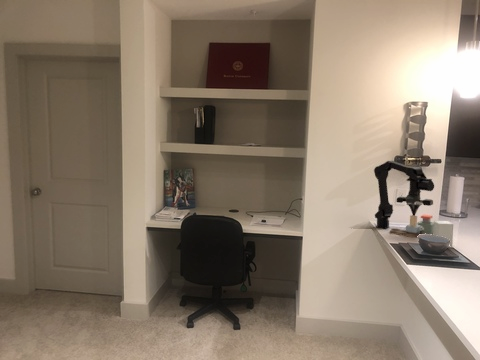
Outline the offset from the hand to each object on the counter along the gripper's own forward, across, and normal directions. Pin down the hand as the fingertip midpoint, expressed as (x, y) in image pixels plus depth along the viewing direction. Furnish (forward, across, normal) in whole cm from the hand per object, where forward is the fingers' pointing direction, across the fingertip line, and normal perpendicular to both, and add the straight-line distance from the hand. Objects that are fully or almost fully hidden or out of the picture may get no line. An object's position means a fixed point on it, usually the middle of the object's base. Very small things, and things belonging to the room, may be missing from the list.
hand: (413, 215), depth 216 cm
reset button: (+8, +3, +12) cm, 15 cm away
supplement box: (+12, +18, -10) cm, 24 cm away
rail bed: (+12, -4, 0) cm, 13 cm away
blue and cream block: (+9, 0, 0) cm, 9 cm away
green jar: (+12, +3, +12) cm, 17 cm away
